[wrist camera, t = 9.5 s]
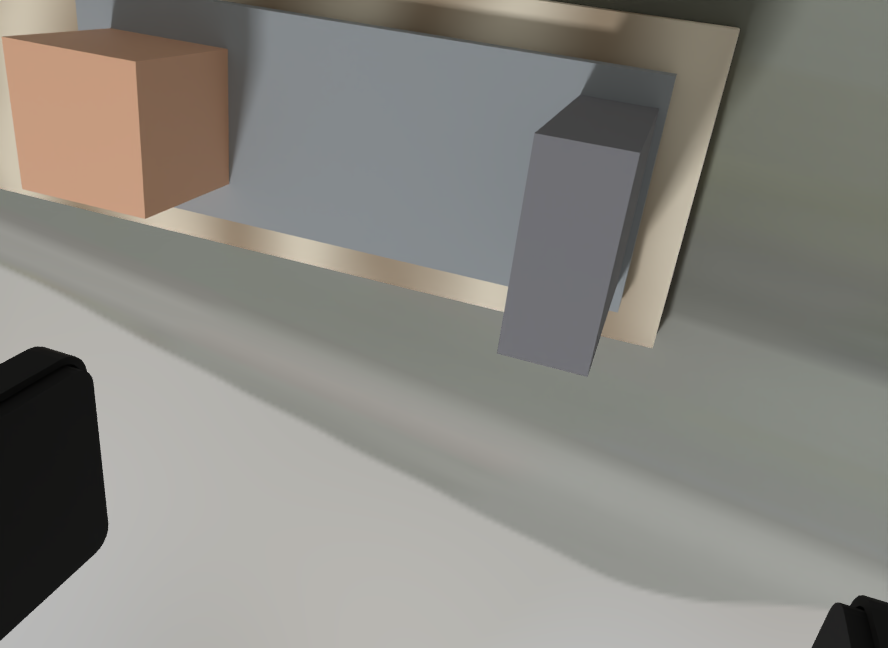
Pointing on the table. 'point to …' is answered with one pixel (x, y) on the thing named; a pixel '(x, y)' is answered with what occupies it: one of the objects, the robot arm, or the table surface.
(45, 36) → the cube
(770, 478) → the table surface
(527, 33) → the board
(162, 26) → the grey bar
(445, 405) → the table surface
